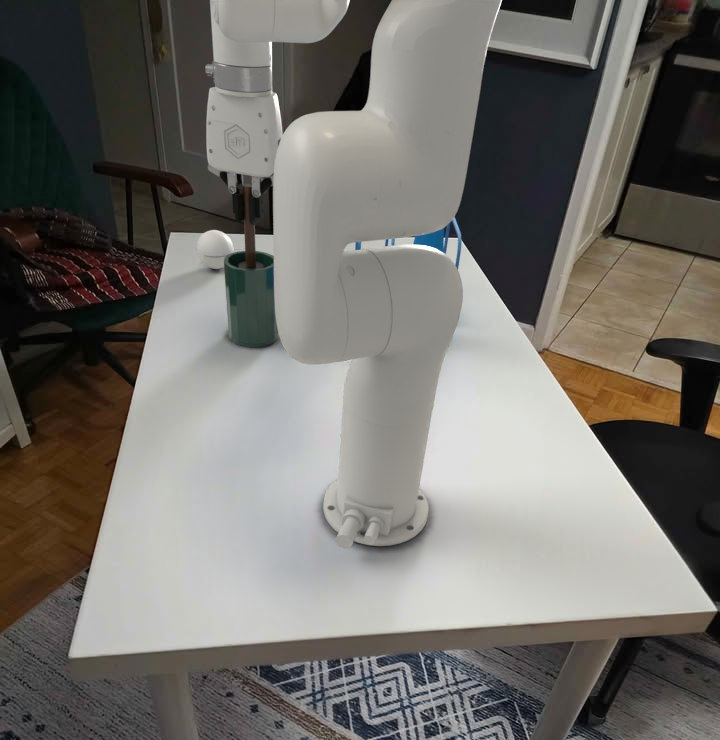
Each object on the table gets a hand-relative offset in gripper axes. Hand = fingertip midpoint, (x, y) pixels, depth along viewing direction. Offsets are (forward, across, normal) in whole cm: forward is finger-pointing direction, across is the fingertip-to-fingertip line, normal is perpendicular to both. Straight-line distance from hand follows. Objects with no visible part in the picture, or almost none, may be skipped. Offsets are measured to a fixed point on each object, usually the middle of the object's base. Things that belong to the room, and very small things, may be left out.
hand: (248, 220), depth 97 cm
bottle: (+19, +26, +10) cm, 34 cm away
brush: (+13, 0, 0) cm, 13 cm away
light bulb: (+19, -17, +24) cm, 35 cm away
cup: (+19, 0, 0) cm, 19 cm away
